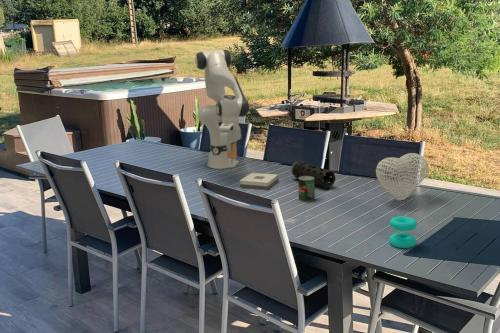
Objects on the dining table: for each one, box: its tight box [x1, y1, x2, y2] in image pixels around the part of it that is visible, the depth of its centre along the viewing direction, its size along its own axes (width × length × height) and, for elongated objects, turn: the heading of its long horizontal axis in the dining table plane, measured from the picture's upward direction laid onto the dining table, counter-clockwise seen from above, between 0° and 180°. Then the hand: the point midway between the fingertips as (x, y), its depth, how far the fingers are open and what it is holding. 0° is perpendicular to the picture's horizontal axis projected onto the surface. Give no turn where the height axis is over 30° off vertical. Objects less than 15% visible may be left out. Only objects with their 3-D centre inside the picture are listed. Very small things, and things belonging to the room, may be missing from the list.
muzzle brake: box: [290, 161, 336, 190], centre depth 285 cm, size 10×28×10 cm, turn 32°
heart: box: [375, 152, 430, 202], centre depth 250 cm, size 28×16×22 cm, turn 122°
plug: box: [227, 142, 238, 159], centre depth 289 cm, size 4×4×10 cm
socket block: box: [239, 172, 279, 191], centre depth 287 cm, size 17×16×4 cm
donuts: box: [388, 215, 418, 249], centre depth 199 cm, size 10×10×10 cm
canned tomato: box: [297, 176, 316, 203], centre depth 258 cm, size 8×8×11 cm
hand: (231, 150), depth 289 cm, fingers closed on plug, 4 cm apart
